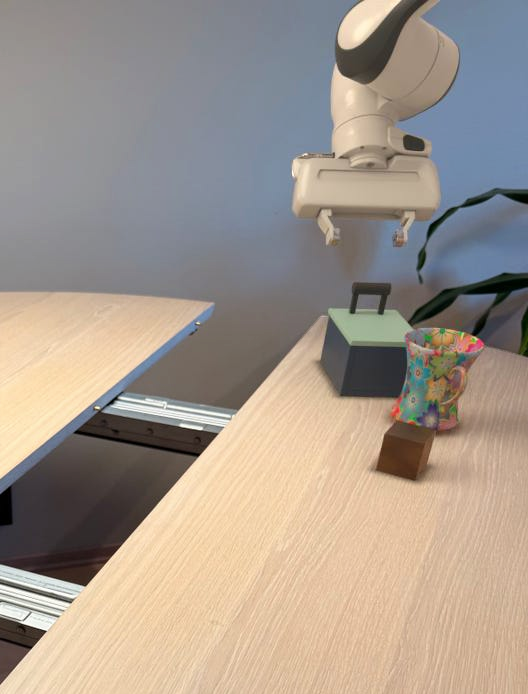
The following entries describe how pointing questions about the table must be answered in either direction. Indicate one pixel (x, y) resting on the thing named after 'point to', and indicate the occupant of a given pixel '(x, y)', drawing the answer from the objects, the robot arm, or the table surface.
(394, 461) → the block
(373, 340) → the lid
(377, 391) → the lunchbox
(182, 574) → the table surface
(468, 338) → the mug
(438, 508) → the table surface
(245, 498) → the table surface
